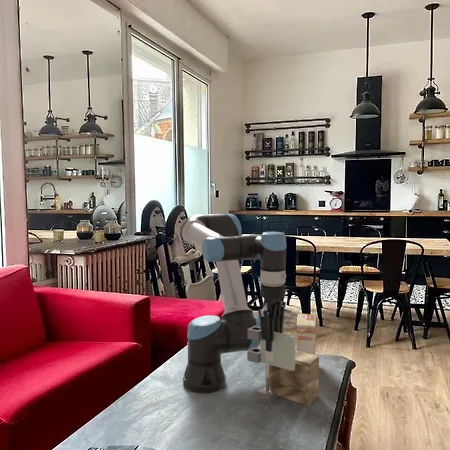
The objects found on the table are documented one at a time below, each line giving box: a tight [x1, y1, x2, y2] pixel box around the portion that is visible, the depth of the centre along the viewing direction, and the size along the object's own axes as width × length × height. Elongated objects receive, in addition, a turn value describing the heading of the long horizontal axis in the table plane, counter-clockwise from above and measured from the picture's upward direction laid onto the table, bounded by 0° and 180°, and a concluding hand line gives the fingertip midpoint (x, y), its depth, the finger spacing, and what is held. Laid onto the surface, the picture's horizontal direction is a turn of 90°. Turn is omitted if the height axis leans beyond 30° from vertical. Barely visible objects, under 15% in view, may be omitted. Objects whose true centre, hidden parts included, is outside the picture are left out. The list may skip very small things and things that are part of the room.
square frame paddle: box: [246, 326, 296, 371], centre depth 138 cm, size 15×4×10 cm, turn 55°
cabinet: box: [257, 349, 320, 406], centre depth 149 cm, size 15×14×14 cm
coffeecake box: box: [295, 313, 317, 355], centre depth 172 cm, size 15×7×20 cm, turn 168°
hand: (271, 359), depth 138 cm, fingers closed on square frame paddle, 2 cm apart
